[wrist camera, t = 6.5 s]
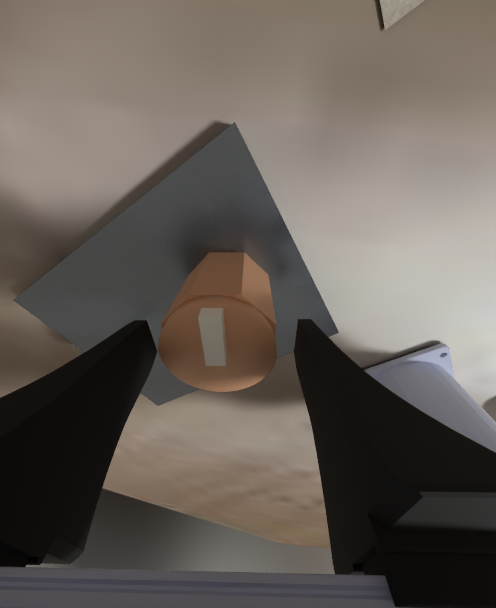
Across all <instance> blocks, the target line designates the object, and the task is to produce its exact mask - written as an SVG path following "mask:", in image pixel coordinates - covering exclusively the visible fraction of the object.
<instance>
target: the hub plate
mask: <svg viewBox="0 0 496 608" xmlns="http://www.w3.org/2000/svg"><path fill="white" fill-rule="evenodd" d="M209 252H245V253H246V254H247V255H248V256H249V257H250V258H251V259H252V260H253V261H254V262H255V263H256V264H257V265H258V266H259V267H261V268H262V269H263V270H264V271H265V272H266V273H267V274H268V276H269V282H270V288H271V294H272V300H273V307H274V313H275V319H276V334H275V342H276V349H277V356H276V358H277V357H280V356H282V355H285V354H287V353H290V352H292V351H294V347H295V339H296V331H297V323H298V319H312V321H313V322H314V323H315V324H316V325H317V326H318V327H319V328H320V329H321V330H322V331H323V332H324V333H325V334H326V336H327V337H329V336H331V335H334V334H336V333H339V332H338V330H337V328H336V326H335V324H334V322H333V320H332V318H331V316H330V314H329V312H328V310H327V308H326V306H325V304H324V301H323V299H322V297H321V295H320V293H319V291H318V289H317V287H316V285H315V283H314V281H313V279H312V277H311V275H310V273H309V271H308V269H307V267H306V265H305V263H304V261H303V259H302V257H301V255H300V253H299V251H298V249H297V247H296V245H295V243H294V241H293V239H292V237H291V235H290V233H289V231H288V229H287V227H286V225H285V223H284V221H283V219H282V217H281V215H280V213H279V210H278V208H277V206H276V204H275V202H274V200H273V198H272V196H271V194H270V192H269V190H268V188H267V186H266V184H265V182H264V180H263V178H262V176H261V174H260V172H259V170H258V168H257V166H256V164H255V162H254V160H253V158H252V156H251V154H250V152H249V150H248V148H247V146H246V144H245V142H244V140H243V138H242V136H241V134H240V132H239V130H238V128H237V126H236V124H235V122H234V123H233V124H232V125H231V126H229V127H228V128H227V129H226V130H224V131H223V132H222V133H221V134H219V135H218V136H217V137H216V138H214V139H213V140H212V141H211V142H209V143H208V144H207V145H206V146H204V147H203V148H202V149H201V150H199V151H198V152H197V153H196V154H194V155H193V156H192V157H191V158H189V159H188V160H187V161H186V162H184V163H183V164H182V165H181V166H179V167H178V168H177V169H176V170H175V171H173V172H172V173H171V174H170V175H168V176H167V177H166V178H165V179H163V180H162V181H161V182H160V183H158V184H157V185H156V186H155V187H153V188H152V189H151V190H150V191H148V192H147V193H146V194H145V195H143V196H142V197H141V198H140V199H138V200H137V201H136V202H135V203H133V204H132V205H131V206H130V207H128V208H127V209H126V210H125V211H123V212H122V213H121V214H120V215H118V216H117V217H116V218H115V219H113V220H112V221H111V222H110V223H108V224H107V225H106V226H105V227H103V228H102V229H101V230H100V231H99V232H97V233H96V234H95V235H94V236H92V237H91V238H90V239H89V240H87V241H86V242H85V243H84V244H82V245H81V246H80V247H79V248H77V249H76V250H75V251H74V252H72V253H71V254H70V255H69V256H67V257H66V258H65V259H64V260H62V261H61V262H60V263H59V264H57V265H56V266H55V267H54V268H52V269H51V270H50V271H49V272H47V273H46V274H45V275H44V276H42V277H41V278H40V279H39V280H37V281H36V282H35V283H34V284H32V285H31V286H30V287H29V288H27V289H26V290H25V291H24V292H22V293H21V294H20V295H19V296H18V297H16V298H15V299H14V301H15V302H16V303H18V304H19V305H20V306H22V307H23V308H25V309H26V310H27V311H29V312H30V313H31V314H33V315H34V316H36V317H37V318H38V319H40V320H41V321H42V322H44V323H45V324H47V325H48V326H49V327H51V328H52V329H53V330H55V331H56V332H58V333H59V334H60V335H62V336H63V337H64V338H66V339H67V340H69V341H70V342H71V343H73V344H74V345H75V346H77V347H78V348H80V349H81V350H82V351H84V352H86V351H88V350H89V349H91V348H92V347H94V346H96V345H97V344H99V343H100V342H102V341H103V340H105V339H106V338H108V337H109V336H111V335H112V334H114V333H115V332H117V331H118V330H120V329H121V328H123V327H124V326H126V325H127V324H129V323H131V322H132V321H134V320H147V322H148V325H149V328H150V331H151V334H152V337H153V340H154V343H155V346H156V349H157V354H156V358H155V361H154V364H153V367H152V369H151V372H150V374H149V376H148V378H147V380H146V382H145V384H144V386H143V388H142V390H141V392H140V393H141V394H143V395H144V396H146V397H147V398H148V399H150V400H151V401H152V402H154V403H155V404H157V405H158V406H159V405H161V404H164V403H166V402H169V401H171V400H174V399H176V398H179V397H181V396H184V395H186V394H189V393H191V392H193V391H196V390H198V389H199V388H196V387H193V386H191V385H188V384H187V383H185V382H183V381H181V380H180V379H178V378H177V377H175V376H174V375H173V374H172V373H171V372H170V371H169V370H168V369H167V368H166V366H165V365H164V363H163V362H162V360H161V358H160V355H159V351H158V340H159V336H160V333H161V331H162V328H161V322H162V321H163V319H164V317H165V315H166V314H167V312H168V310H169V308H170V307H171V305H172V303H173V301H174V300H175V298H176V296H177V294H178V293H179V291H180V289H181V287H182V286H183V284H184V282H185V280H186V279H187V277H188V275H189V274H190V273H191V272H192V271H193V270H194V269H195V268H196V267H197V265H198V264H199V263H200V262H201V261H202V260H203V259H204V258H205V257H206V256H207V254H208V253H209Z"/></svg>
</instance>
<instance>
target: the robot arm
mask: <svg viewBox="0 0 496 608" xmlns="http://www.w3.org/2000/svg"><path fill="white" fill-rule="evenodd" d="M156 354H157V349H156V346H155V343H154V340H153V337H152V334H151V331H150V328H149V325H148V322H147V320H134V321H132V322H131V323H129V324H127V325H126V326H124V327H123V328H121V329H120V330H118V331H117V332H115V333H114V334H112V335H111V336H109V337H108V338H106V339H105V340H103V341H102V342H100V343H99V344H97V345H96V346H94V347H92V348H91V349H89V350H88V351H86V352H85V353H83V354H81V355H80V356H78V357H76V358H75V359H73V360H72V361H70V362H68V363H67V364H65V365H63V366H62V367H60V368H58V369H56V370H55V371H53V372H51V373H49V374H47V375H46V376H44V377H42V378H40V379H38V380H36V381H34V382H32V383H30V384H29V385H26V386H24V387H22V388H20V389H18V390H16V391H14V392H12V393H10V394H8V395H6V396H4V397H1V398H0V608H496V422H495V421H494V420H493V419H492V418H491V417H490V416H489V415H488V414H487V413H486V412H485V411H484V410H483V408H482V407H481V406H480V405H479V404H478V403H477V402H476V401H475V400H474V399H473V398H472V397H471V396H470V395H469V394H468V393H467V392H466V391H465V390H464V389H463V388H462V387H461V385H460V384H459V383H458V382H457V381H456V380H455V379H454V374H453V368H452V361H451V355H450V349H449V347H448V346H447V345H446V344H438V345H435V346H432V347H429V348H426V349H423V350H420V351H417V352H414V353H412V354H409V355H406V356H403V357H400V358H397V359H394V360H391V361H388V362H385V363H382V364H379V365H377V366H374V367H371V368H368V369H365V370H363V369H362V368H360V367H359V366H358V365H357V364H356V363H355V362H353V361H352V360H351V359H350V358H349V357H348V356H347V355H346V354H344V353H343V352H342V351H341V350H340V349H339V348H338V347H337V346H336V345H335V344H334V343H333V342H332V341H331V340H330V339H329V338H328V337H327V336H326V334H325V333H324V332H323V331H322V330H321V329H320V328H319V327H318V326H317V325H316V324H315V323H314V322H313V321H312V319H298V323H297V331H296V339H295V347H294V355H295V362H296V368H297V373H298V376H299V380H300V384H301V387H302V391H303V395H304V398H305V402H306V405H307V409H308V412H309V416H310V420H311V425H312V430H313V435H314V441H315V446H316V452H317V458H318V464H319V470H320V476H321V482H322V489H323V495H324V502H325V508H326V515H327V523H328V530H329V537H330V544H331V551H332V559H333V566H334V571H335V574H295V573H294V574H293V573H292V574H291V573H250V572H209V571H207V572H206V571H165V570H162V571H161V570H123V569H80V568H35V567H33V568H32V567H25V566H26V565H40V564H41V563H54V564H56V563H57V564H70V563H72V562H73V561H75V560H76V559H77V558H78V557H79V556H80V555H81V554H82V552H83V551H84V548H85V544H86V541H87V537H88V533H89V530H90V526H91V523H92V519H93V516H94V512H95V509H96V505H97V502H98V499H99V496H100V493H101V490H102V487H103V483H104V480H105V477H106V474H107V471H108V468H109V466H110V463H111V460H112V457H113V454H114V451H115V449H116V446H117V443H118V441H119V438H120V436H121V433H122V430H123V428H124V425H125V423H126V421H127V419H128V416H129V414H130V412H131V410H132V408H133V406H134V404H135V402H136V400H137V398H138V396H139V394H140V392H141V390H142V388H143V386H144V384H145V382H146V380H147V378H148V376H149V374H150V372H151V369H152V367H153V364H154V361H155V358H156Z"/></svg>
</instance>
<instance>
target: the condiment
mask: <svg viewBox="0 0 496 608" xmlns="http://www.w3.org/2000/svg"><path fill="white" fill-rule="evenodd" d="M423 1H425V0H380V4H381V9H382V15H383V21H384V27H385V30H386V29H388V28H389V27H390V26H392V25H393V24H394V23H396V22H397V21H398V20H399V19H401V18H402V17H403V16H405V15H406V14H407V13H409V12H410V11H411V10H412V9H414V8H415V7H417V6H418V5H419V4H421V3H422V2H423Z"/></svg>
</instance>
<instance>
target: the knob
mask: <svg viewBox="0 0 496 608" xmlns="http://www.w3.org/2000/svg"><path fill="white" fill-rule="evenodd" d="M161 328H162V331H161V333H160V336H159V340H158V351H159V355H160V358H161V360H162V362H163V363H164V365H165V366H166V368H167V369H168V370H169V371H170V372H171V373H172V374H173V375H174V376H175V377H177V378H178V379H180V380H181V381H183V382H185V383H187V384H188V385H191V386H193V387H196V388H199V389H203V390H208V391H215V392H230V391H237V390H242V389H245V388H248V387H250V386H253V385H255V384H256V383H258V382H260V381H261V380H262V379H264V378H265V377H266V376H267V375H268V374H269V372H270V371H271V370H272V368H273V366H274V364H275V361H276V356H277V349H276V342H275V334H276V319H275V313H274V307H273V300H272V294H271V288H270V282H269V276H268V274H267V273H266V272H265V271H264V270H263V269H262V268H261V267H259V266H258V265H257V264H256V263H255V262H254V261H253V260H252V259H251V258H250V257H249V256H248V255H247V254H246V253H245V252H209V253H208V254H207V256H206V257H205V258H204V259H203V260H202V261H201V262H200V263H199V264H198V265H197V267H196V268H195V269H194V270H193V271H192V272H191V273H190V274H189V275H188V277H187V279H186V280H185V282H184V284H183V286H182V287H181V289H180V291H179V293H178V294H177V296H176V298H175V300H174V301H173V303H172V305H171V307H170V308H169V310H168V312H167V314H166V315H165V317H164V319H163V321H162V322H161Z"/></svg>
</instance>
